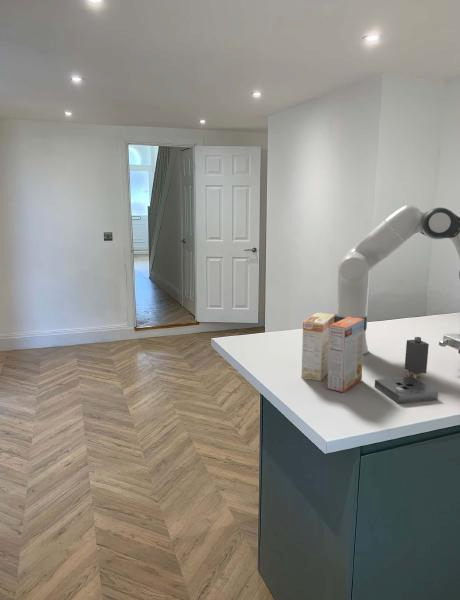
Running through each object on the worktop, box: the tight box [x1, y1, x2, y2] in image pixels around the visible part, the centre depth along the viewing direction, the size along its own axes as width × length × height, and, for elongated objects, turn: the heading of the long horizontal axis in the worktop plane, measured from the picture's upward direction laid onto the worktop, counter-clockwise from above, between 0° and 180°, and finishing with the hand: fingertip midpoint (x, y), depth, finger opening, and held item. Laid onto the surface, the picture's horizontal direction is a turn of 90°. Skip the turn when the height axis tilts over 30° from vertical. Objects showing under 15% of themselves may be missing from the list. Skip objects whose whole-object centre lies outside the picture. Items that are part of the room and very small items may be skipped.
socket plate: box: [374, 375, 439, 405], centre depth 140 cm, size 13×13×3 cm
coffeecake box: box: [301, 312, 336, 382], centre depth 156 cm, size 15×7×20 cm, turn 152°
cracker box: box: [326, 317, 364, 394], centre depth 145 cm, size 14×6×21 cm, turn 141°
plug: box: [404, 336, 430, 379], centre depth 153 cm, size 6×4×14 cm
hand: (449, 347), depth 155 cm, fingers open, 8 cm apart
